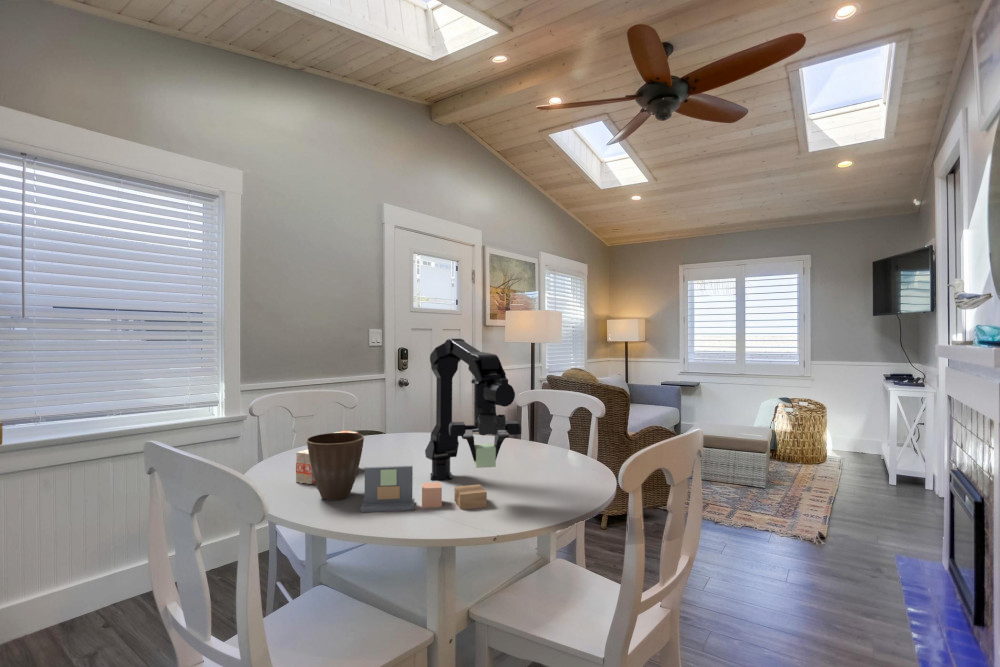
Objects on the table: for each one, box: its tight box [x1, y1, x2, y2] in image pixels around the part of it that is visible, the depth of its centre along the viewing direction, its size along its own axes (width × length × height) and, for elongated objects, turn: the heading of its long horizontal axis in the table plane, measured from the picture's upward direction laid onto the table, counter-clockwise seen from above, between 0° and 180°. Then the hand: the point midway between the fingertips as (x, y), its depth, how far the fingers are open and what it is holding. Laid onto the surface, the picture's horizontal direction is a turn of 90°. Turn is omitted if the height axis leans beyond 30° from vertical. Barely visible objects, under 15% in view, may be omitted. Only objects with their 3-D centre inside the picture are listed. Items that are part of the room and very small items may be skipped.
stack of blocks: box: [295, 430, 359, 485], centre depth 160 cm, size 21×6×12 cm, turn 157°
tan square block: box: [454, 484, 488, 510], centre depth 133 cm, size 7×7×4 cm
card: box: [360, 465, 416, 513], centre depth 130 cm, size 6×13×10 cm, turn 98°
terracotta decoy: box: [421, 481, 443, 509], centre depth 132 cm, size 5×5×5 cm
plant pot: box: [306, 432, 365, 501], centre depth 139 cm, size 15×15×16 cm
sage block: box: [473, 443, 497, 469], centre depth 134 cm, size 5×5×5 cm
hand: (484, 460), depth 134 cm, fingers closed on sage block, 5 cm apart
